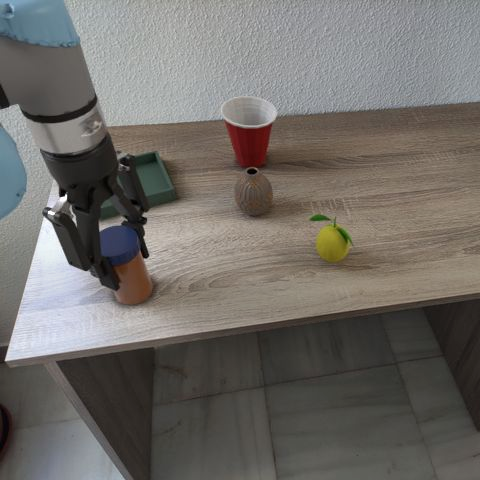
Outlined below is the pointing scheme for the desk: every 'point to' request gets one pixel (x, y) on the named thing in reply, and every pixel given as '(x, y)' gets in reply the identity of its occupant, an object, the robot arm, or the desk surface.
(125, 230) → the jar lid
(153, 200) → the tray
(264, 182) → the vase
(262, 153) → the plastic cup
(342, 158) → the desk surface
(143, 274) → the jam jar
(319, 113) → the desk surface
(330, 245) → the lemon
